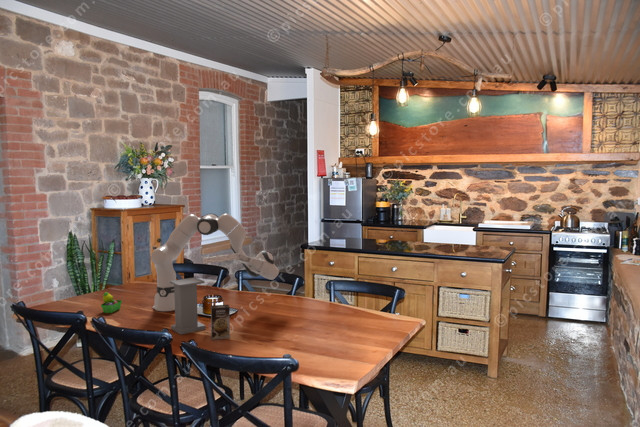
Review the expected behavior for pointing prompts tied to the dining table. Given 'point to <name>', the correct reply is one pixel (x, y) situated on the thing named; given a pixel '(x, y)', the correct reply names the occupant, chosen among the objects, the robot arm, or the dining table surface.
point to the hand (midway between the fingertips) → (237, 255)
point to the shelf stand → (186, 306)
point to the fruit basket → (110, 303)
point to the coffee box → (220, 322)
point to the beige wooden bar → (221, 258)
